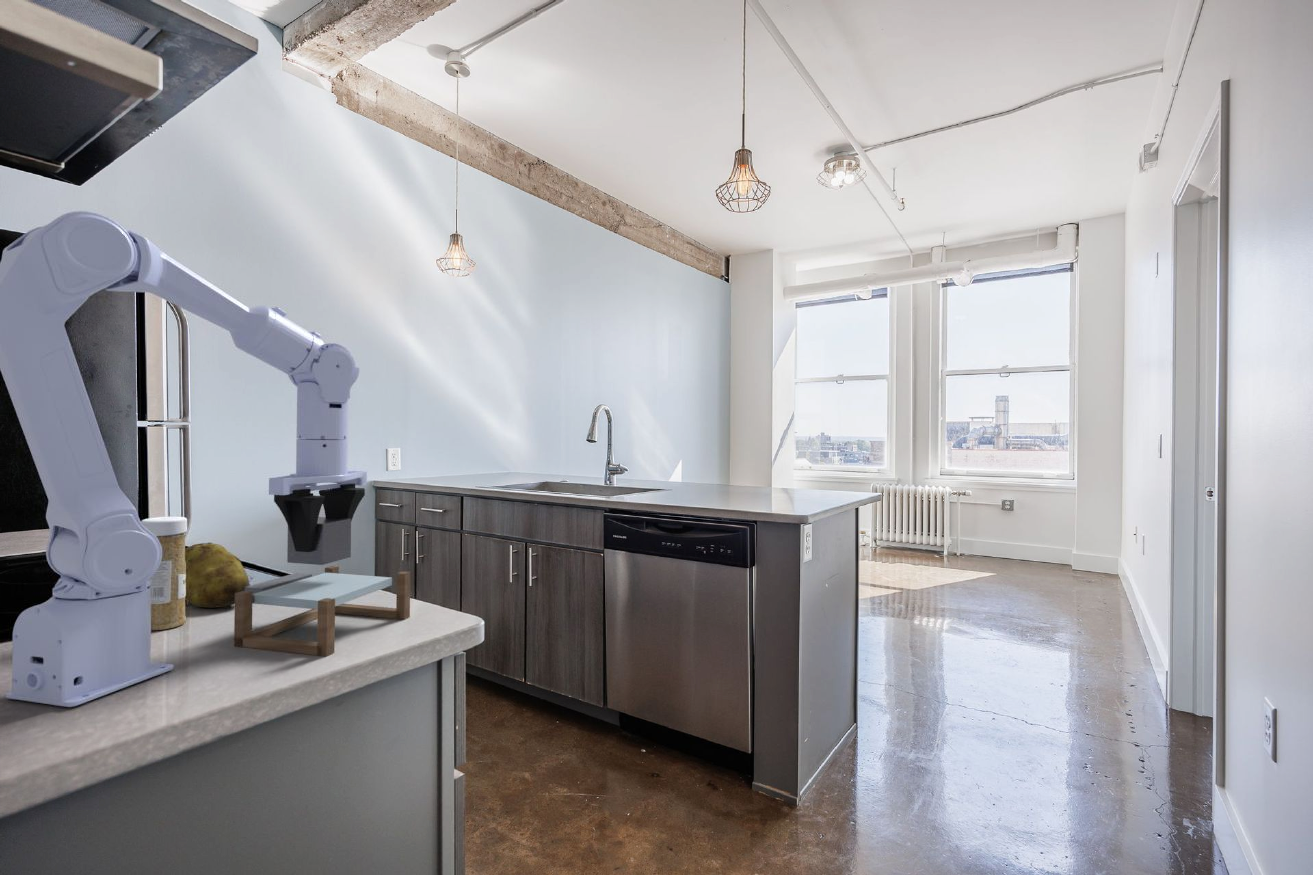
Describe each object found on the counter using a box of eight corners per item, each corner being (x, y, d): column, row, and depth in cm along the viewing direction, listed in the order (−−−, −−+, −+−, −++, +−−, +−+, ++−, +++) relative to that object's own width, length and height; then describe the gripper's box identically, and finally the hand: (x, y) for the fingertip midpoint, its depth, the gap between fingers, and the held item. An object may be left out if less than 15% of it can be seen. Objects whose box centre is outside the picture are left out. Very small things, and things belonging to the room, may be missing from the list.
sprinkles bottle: (195, 622, 80) (196, 516, 80) (159, 633, 76) (160, 521, 75) (166, 619, 81) (167, 514, 81) (129, 629, 77) (130, 519, 76)
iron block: (322, 564, 77) (322, 523, 76) (287, 562, 78) (287, 521, 78) (350, 557, 81) (351, 518, 81) (317, 554, 82) (317, 516, 82)
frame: (326, 656, 69) (327, 601, 69) (234, 645, 72) (234, 593, 72) (409, 616, 84) (410, 572, 84) (330, 609, 87) (331, 566, 86)
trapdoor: (325, 611, 71) (325, 599, 71) (230, 602, 74) (230, 591, 74) (392, 586, 83) (392, 576, 83) (307, 579, 85) (308, 569, 85)
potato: (176, 618, 81) (176, 556, 81) (170, 597, 91) (171, 542, 91) (251, 607, 87) (252, 549, 87) (239, 589, 97) (239, 536, 96)
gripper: (335, 438, 87) (334, 536, 87) (247, 439, 73) (245, 556, 73) (380, 439, 86) (379, 539, 86) (299, 440, 72) (297, 559, 72)
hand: (321, 547), depth 79 cm, fingers closed on iron block, 5 cm apart
